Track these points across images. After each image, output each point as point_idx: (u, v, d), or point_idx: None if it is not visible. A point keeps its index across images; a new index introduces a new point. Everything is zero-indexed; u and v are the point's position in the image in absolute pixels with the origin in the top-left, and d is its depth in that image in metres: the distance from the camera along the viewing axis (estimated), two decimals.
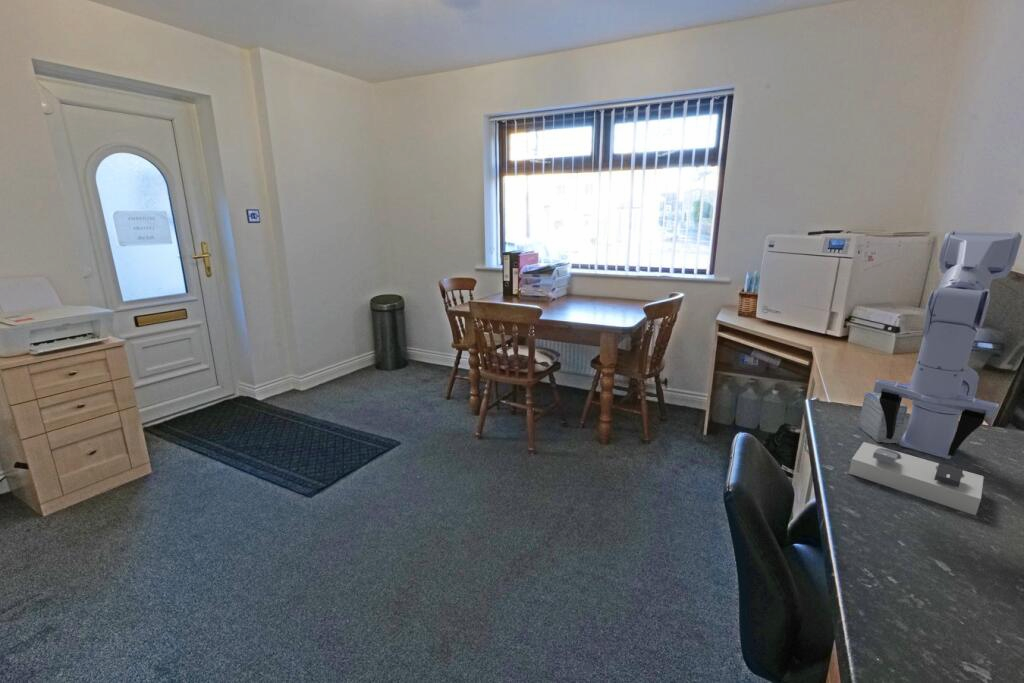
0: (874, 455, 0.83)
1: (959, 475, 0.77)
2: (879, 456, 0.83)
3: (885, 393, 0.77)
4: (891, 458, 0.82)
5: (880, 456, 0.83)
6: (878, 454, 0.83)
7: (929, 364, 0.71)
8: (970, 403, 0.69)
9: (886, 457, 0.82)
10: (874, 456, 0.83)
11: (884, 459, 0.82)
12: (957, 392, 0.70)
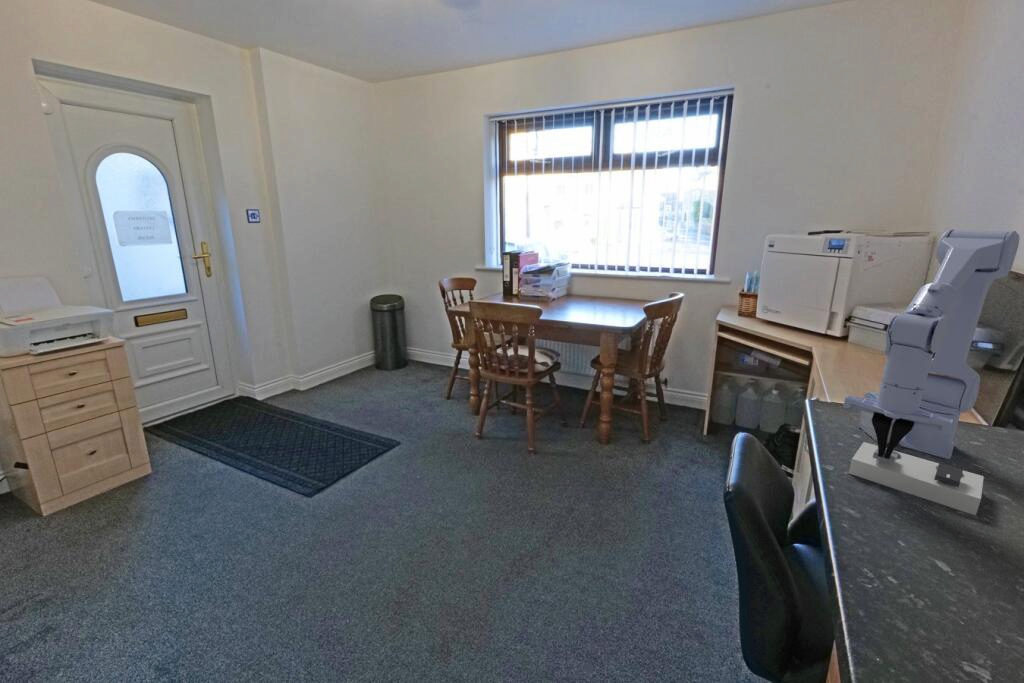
0: (874, 455, 0.83)
1: (959, 475, 0.77)
2: None
3: (854, 408, 0.84)
4: (891, 458, 0.82)
5: None
6: None
7: (888, 382, 0.79)
8: (927, 419, 0.76)
9: None
10: (874, 456, 0.83)
11: (884, 459, 0.82)
12: (916, 408, 0.78)
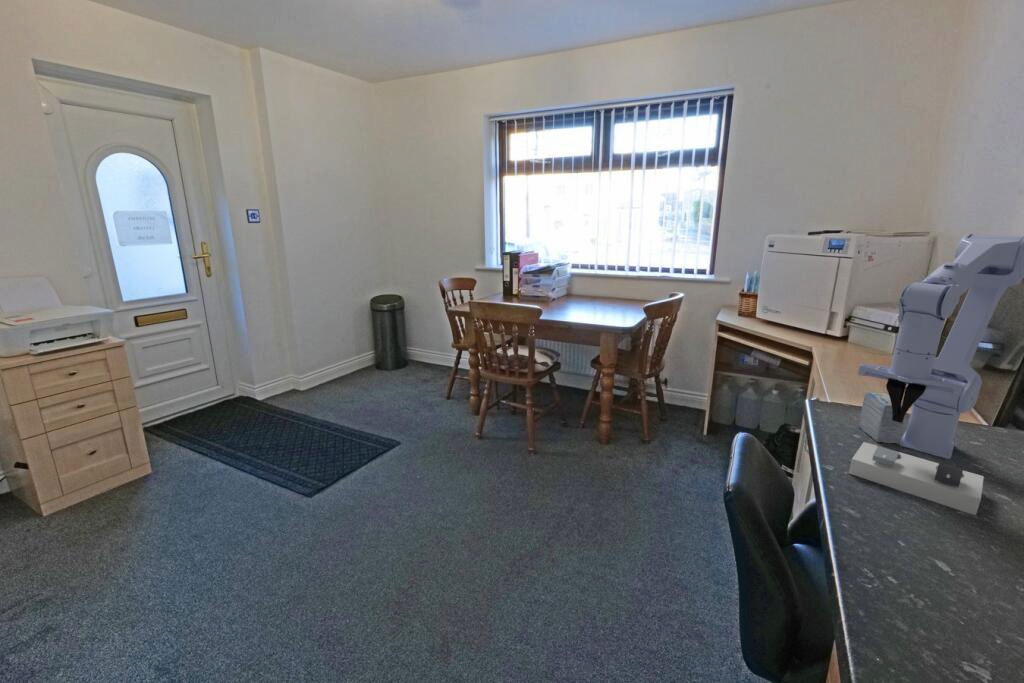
0: (873, 458, 0.84)
1: (959, 475, 0.77)
2: (878, 459, 0.83)
3: (868, 375, 0.88)
4: (890, 461, 0.82)
5: (879, 459, 0.83)
6: (877, 457, 0.83)
7: (900, 348, 0.83)
8: (939, 382, 0.80)
9: (885, 460, 0.82)
10: (873, 459, 0.84)
11: (883, 462, 0.83)
12: (929, 373, 0.81)
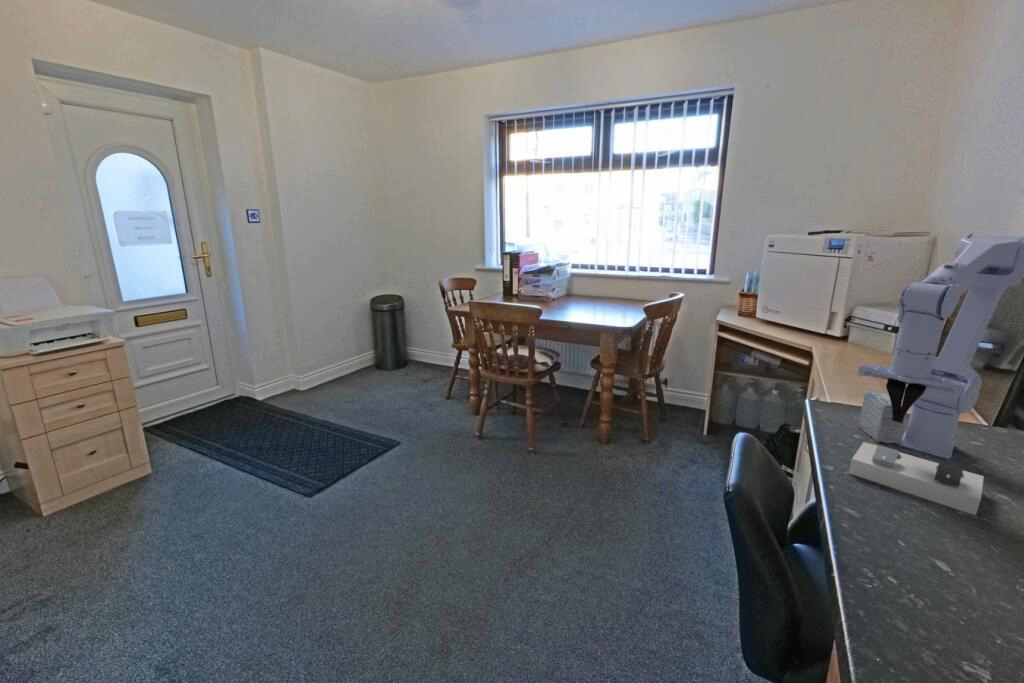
0: (873, 459, 0.84)
1: (959, 475, 0.77)
2: (878, 460, 0.83)
3: (868, 375, 0.88)
4: (890, 463, 0.82)
5: (879, 461, 0.83)
6: (877, 459, 0.83)
7: (900, 348, 0.83)
8: (939, 382, 0.80)
9: (885, 462, 0.82)
10: (873, 460, 0.84)
11: (883, 463, 0.83)
12: (929, 373, 0.81)
